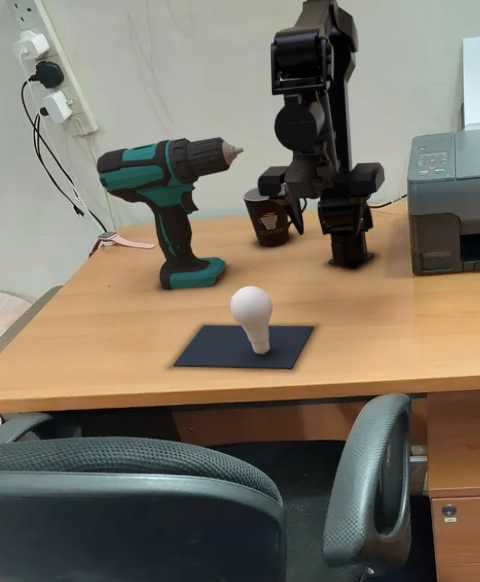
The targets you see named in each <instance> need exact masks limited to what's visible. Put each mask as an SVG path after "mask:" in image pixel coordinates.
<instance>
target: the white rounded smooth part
mask: <svg viewBox="0 0 480 582" xmlns="http://www.w3.org/2000/svg"><path fill="white" fill-rule="evenodd" d="M229 308H230V312H231V313H230V314H231V316H232V318H233V319H234V321H235V322H236V323H237V324H238V326H241V327H242V328H243V329H244V330H245V332H246V334H247V336H248V339H249V341H250V342H251V344H252V347H253V350H254V352H255V353H257V354H265V353H266V352H267V351H269V349H270V345H269V340H268V338H269V332H268V326H270V325H269V324H270V320H271V317H272V315H273V302H272V298H271V297H270V295H269V294H268V293H267V292H266V291H265V290H263V289H262V288H260V287H258V286H255V285H247V286H244V287H241V288H239V289H238V290H237V291H236V292H234V294H233V296H232V297H231V300H230V306H229Z"/></svg>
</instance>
